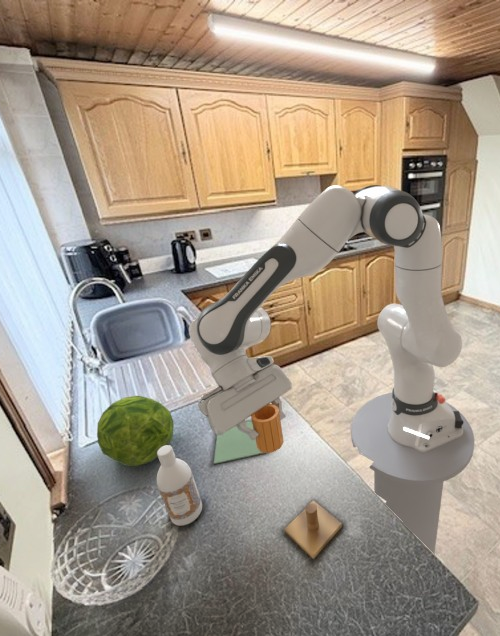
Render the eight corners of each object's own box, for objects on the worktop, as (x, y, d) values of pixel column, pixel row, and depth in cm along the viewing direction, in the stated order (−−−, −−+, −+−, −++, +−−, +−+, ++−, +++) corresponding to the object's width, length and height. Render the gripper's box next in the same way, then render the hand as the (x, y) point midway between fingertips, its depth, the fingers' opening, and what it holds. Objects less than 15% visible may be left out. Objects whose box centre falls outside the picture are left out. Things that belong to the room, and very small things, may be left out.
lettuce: (159, 414, 113) (129, 374, 105) (194, 437, 98) (162, 392, 90) (106, 456, 102) (67, 415, 94) (136, 489, 88) (94, 444, 80)
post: (313, 502, 82) (311, 482, 79) (342, 526, 77) (340, 505, 74) (284, 531, 76) (280, 511, 73) (313, 559, 71) (310, 538, 68)
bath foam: (169, 531, 77) (143, 467, 69) (172, 504, 83) (148, 443, 75) (202, 520, 79) (181, 457, 71) (203, 495, 85) (183, 434, 76)
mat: (264, 419, 109) (264, 418, 109) (266, 452, 97) (266, 451, 96) (217, 428, 106) (217, 427, 106) (214, 464, 94) (213, 463, 94)
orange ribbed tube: (282, 431, 83) (277, 401, 80) (284, 449, 78) (279, 418, 74) (256, 436, 82) (250, 406, 78) (257, 455, 77) (251, 424, 73)
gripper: (197, 395, 70) (233, 454, 68) (276, 352, 84) (307, 401, 82) (191, 404, 75) (224, 459, 73) (267, 362, 88) (296, 408, 87)
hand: (269, 428), depth 78 cm, fingers closed on orange ribbed tube, 6 cm apart
